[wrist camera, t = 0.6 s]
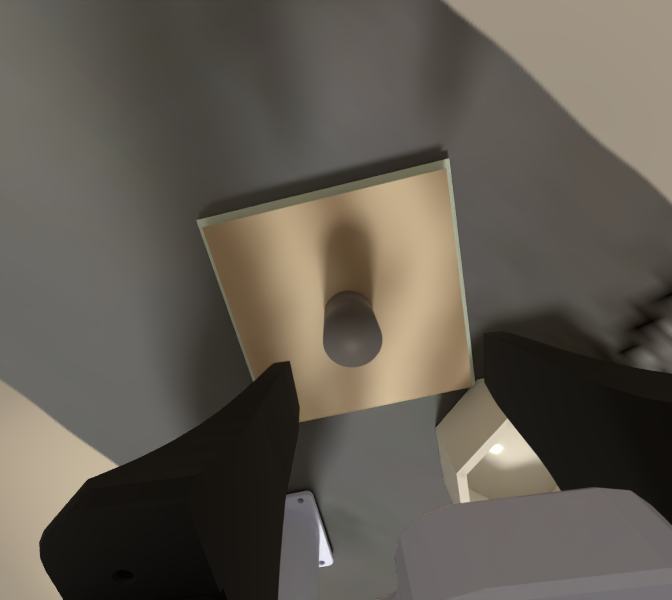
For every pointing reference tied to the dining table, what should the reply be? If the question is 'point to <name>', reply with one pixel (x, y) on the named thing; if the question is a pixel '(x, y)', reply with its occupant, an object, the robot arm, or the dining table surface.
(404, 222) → the lid
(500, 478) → the bowl
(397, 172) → the mat
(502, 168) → the dining table surface
